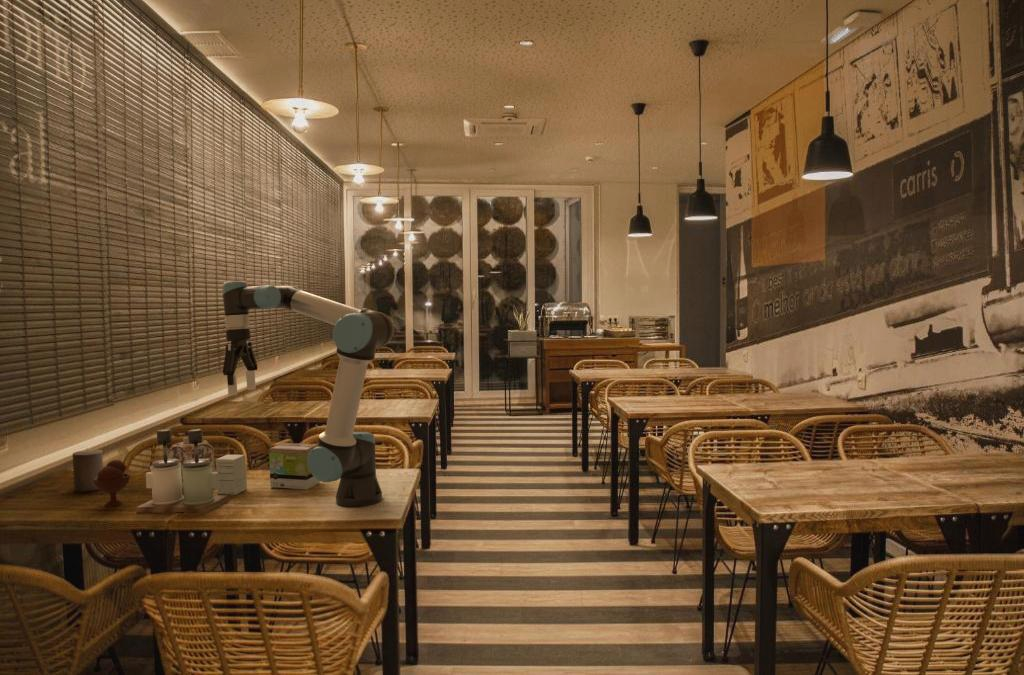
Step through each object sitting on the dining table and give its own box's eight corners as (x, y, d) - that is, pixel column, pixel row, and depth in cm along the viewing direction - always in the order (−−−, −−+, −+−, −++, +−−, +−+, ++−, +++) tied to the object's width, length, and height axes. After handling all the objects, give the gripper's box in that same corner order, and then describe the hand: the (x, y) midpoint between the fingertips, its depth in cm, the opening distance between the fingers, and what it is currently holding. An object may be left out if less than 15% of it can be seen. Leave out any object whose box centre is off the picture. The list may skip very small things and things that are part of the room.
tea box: (269, 488, 263) (267, 448, 262) (284, 481, 273) (282, 442, 272) (307, 490, 259) (305, 449, 258) (321, 482, 269) (319, 443, 268)
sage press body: (177, 505, 238) (175, 468, 237) (193, 497, 247) (191, 462, 246) (210, 505, 236) (208, 468, 236) (225, 497, 246) (223, 462, 245)
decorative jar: (194, 480, 279) (192, 433, 278) (216, 482, 274) (214, 435, 272) (167, 487, 268) (164, 439, 267) (190, 490, 263) (187, 441, 262)
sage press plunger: (178, 466, 238) (176, 432, 237) (192, 461, 246) (190, 428, 245) (201, 466, 237) (200, 432, 236) (214, 461, 245) (212, 427, 244)
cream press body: (189, 497, 247) (187, 462, 247) (173, 505, 238) (171, 468, 237) (157, 496, 249) (155, 462, 248) (139, 505, 239) (137, 468, 238)
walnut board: (228, 500, 248) (228, 495, 248) (206, 512, 234) (206, 507, 234) (162, 500, 251) (161, 495, 251) (136, 512, 237) (136, 507, 237)
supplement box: (229, 488, 264) (227, 454, 263) (247, 489, 263) (245, 454, 262) (217, 494, 257) (215, 458, 256) (235, 494, 255) (234, 459, 255)
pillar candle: (72, 493, 263) (70, 452, 262) (76, 487, 272) (74, 447, 271) (103, 490, 267) (101, 449, 266) (105, 484, 276) (103, 444, 275)
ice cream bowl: (106, 500, 253) (104, 457, 252) (138, 499, 252) (135, 456, 252) (88, 509, 242) (85, 464, 241) (121, 508, 242) (118, 464, 241)
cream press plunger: (183, 461, 246) (182, 428, 245) (170, 466, 238) (168, 432, 237) (161, 461, 247) (159, 428, 246) (147, 466, 239) (145, 432, 238)
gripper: (243, 327, 253) (248, 388, 254) (208, 330, 229) (213, 397, 230) (264, 326, 253) (269, 387, 254) (231, 329, 228) (236, 396, 229)
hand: (242, 392), depth 242 cm, fingers open, 13 cm apart
